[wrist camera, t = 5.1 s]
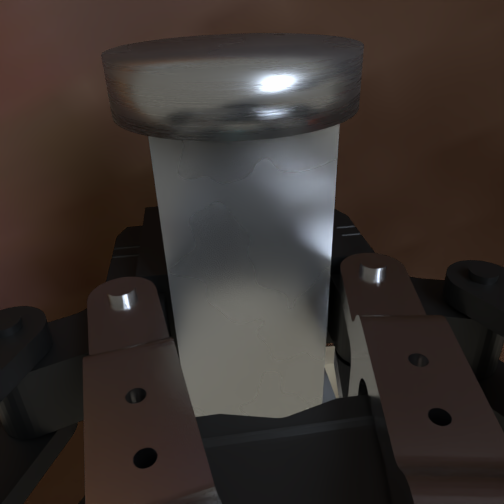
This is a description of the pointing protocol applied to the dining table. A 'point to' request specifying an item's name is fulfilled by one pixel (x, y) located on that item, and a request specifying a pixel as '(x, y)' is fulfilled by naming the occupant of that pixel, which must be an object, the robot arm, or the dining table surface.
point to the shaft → (244, 202)
